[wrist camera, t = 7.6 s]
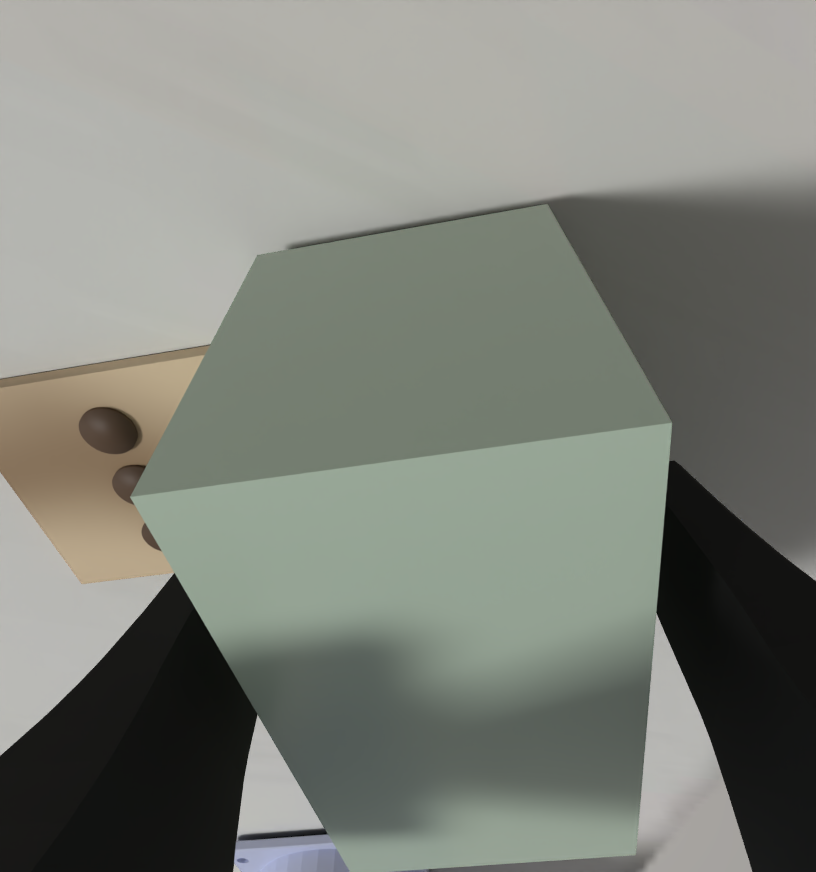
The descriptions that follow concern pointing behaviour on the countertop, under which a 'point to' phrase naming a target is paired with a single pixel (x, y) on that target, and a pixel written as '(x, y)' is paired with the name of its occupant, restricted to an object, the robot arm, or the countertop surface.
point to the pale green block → (430, 538)
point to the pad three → (92, 455)
